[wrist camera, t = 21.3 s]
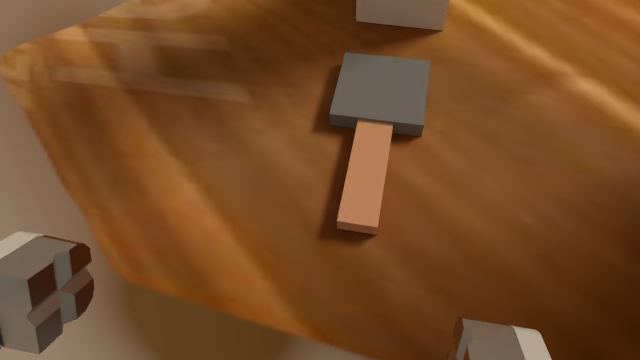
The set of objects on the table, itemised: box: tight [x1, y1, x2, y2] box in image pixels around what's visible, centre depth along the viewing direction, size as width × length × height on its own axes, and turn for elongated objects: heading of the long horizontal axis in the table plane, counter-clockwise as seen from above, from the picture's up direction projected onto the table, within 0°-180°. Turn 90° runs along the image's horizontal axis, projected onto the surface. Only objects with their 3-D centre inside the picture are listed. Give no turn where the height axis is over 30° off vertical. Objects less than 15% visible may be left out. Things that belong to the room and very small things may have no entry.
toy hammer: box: [329, 52, 430, 235], centre depth 38 cm, size 18×8×2 cm, turn 169°
